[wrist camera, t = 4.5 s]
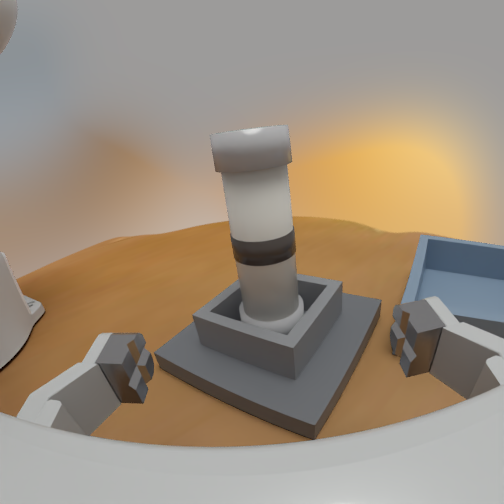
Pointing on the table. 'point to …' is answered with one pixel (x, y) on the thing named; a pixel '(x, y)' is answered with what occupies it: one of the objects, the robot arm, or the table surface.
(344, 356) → the gray square socket base
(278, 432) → the table surface
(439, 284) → the parts tray
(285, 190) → the fuse
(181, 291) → the table surface
